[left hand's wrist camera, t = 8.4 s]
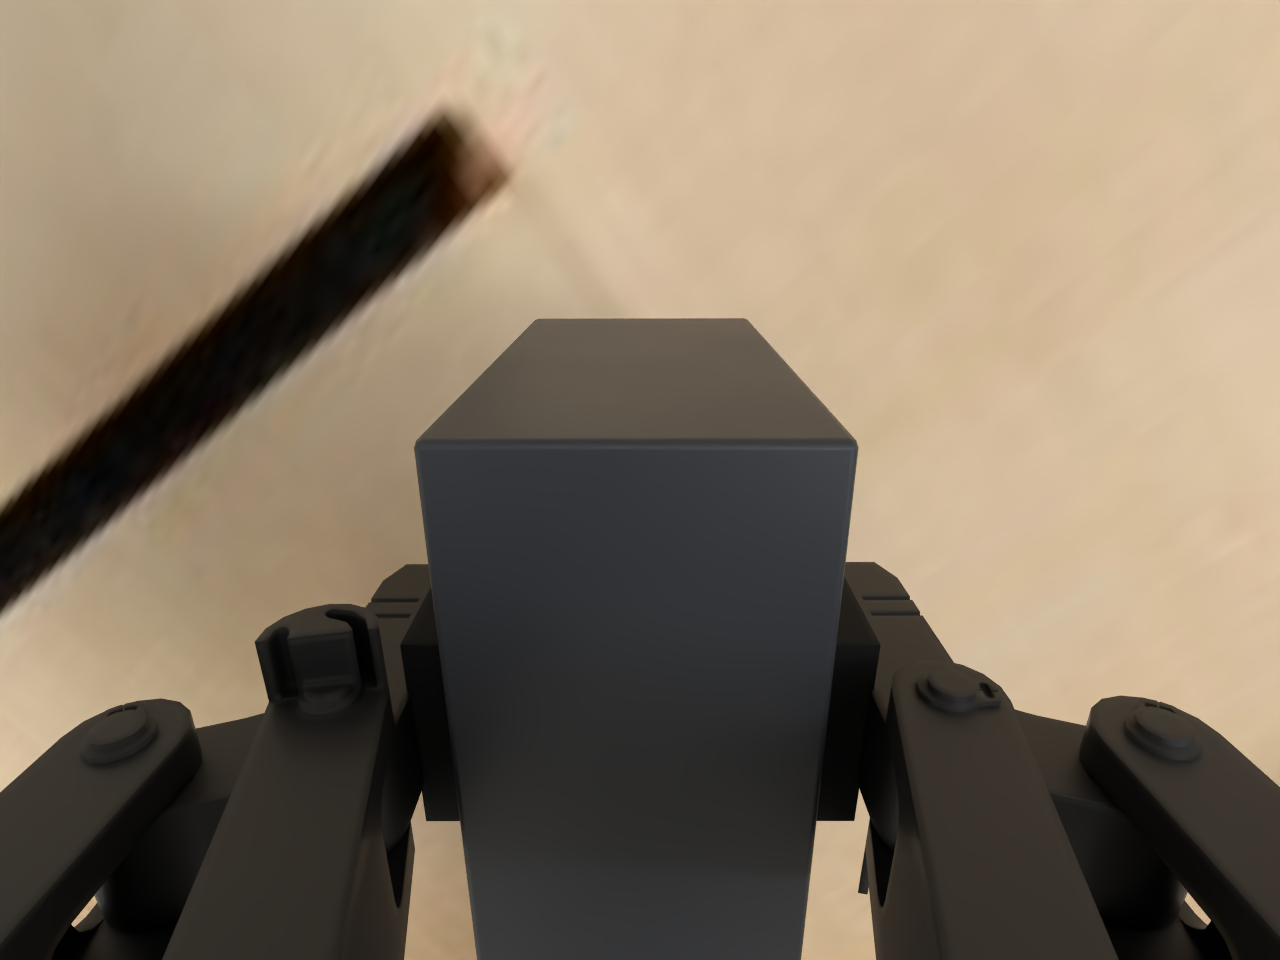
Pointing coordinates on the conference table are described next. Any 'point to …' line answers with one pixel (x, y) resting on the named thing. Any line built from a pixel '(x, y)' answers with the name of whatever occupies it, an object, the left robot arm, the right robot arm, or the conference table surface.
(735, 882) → the rail
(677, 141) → the conference table surface
